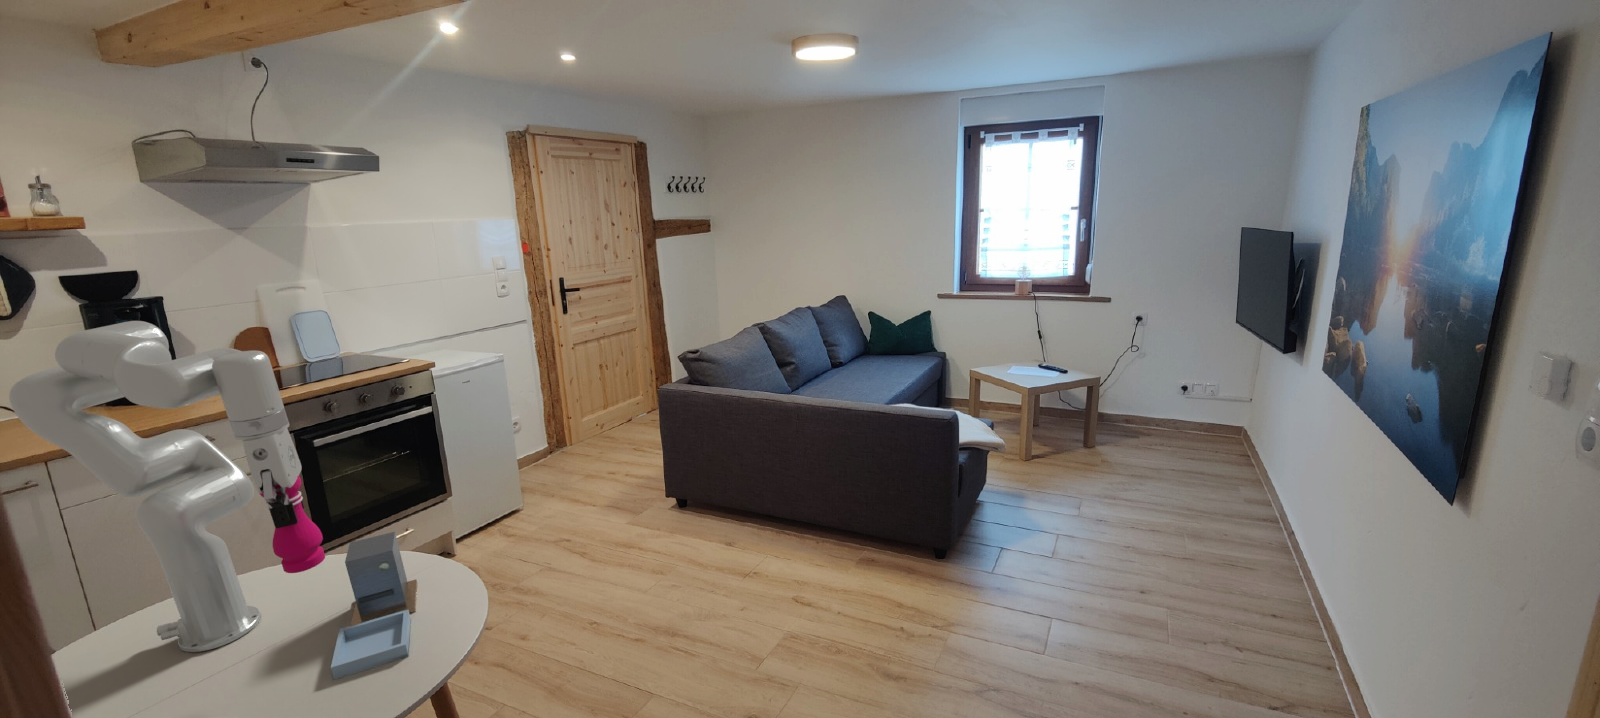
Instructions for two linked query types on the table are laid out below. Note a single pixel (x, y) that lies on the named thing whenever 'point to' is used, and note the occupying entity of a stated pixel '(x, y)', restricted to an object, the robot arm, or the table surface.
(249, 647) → the table surface
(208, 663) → the table surface
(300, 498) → the pepper mill
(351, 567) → the control unit
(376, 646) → the parts tray
